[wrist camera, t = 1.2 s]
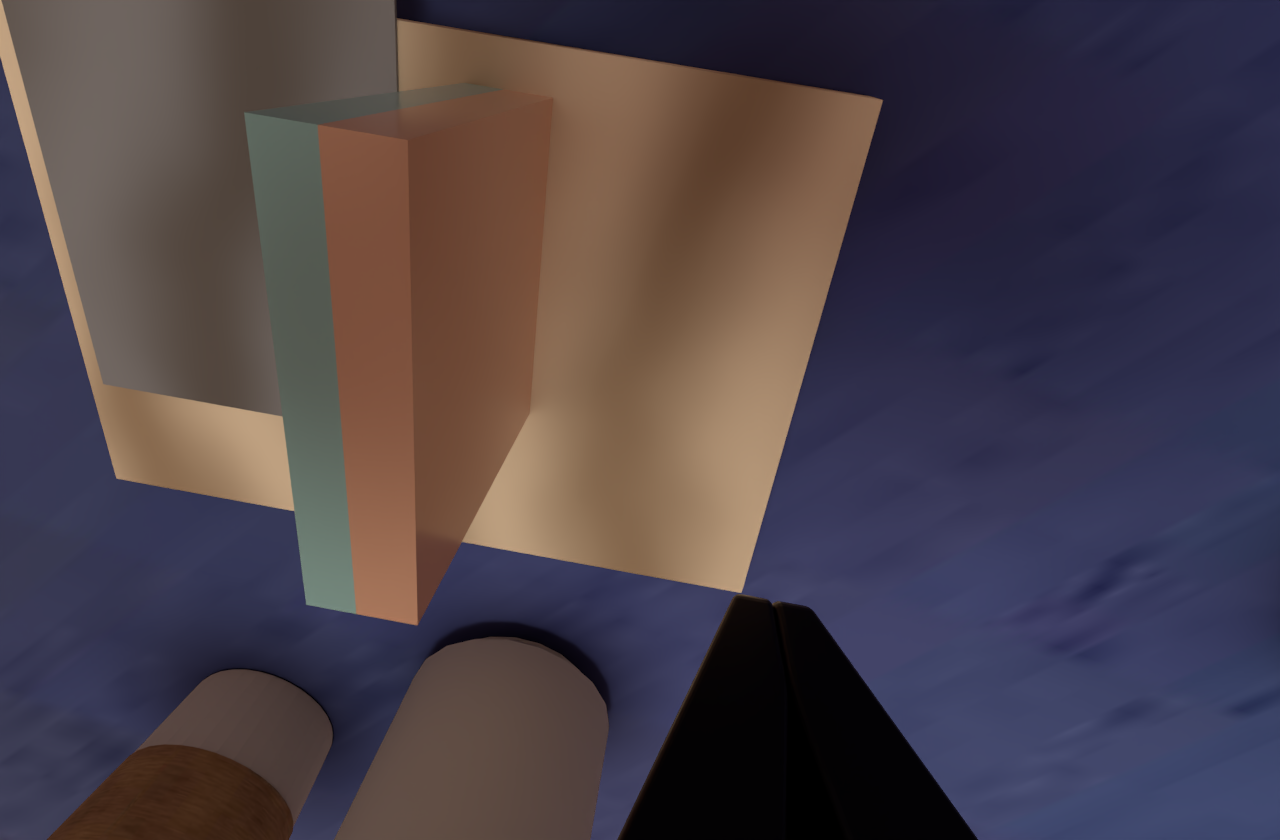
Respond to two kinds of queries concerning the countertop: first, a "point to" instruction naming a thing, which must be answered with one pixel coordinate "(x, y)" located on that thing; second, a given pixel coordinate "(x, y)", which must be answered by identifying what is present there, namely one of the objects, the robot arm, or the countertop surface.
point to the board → (569, 277)
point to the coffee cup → (215, 767)
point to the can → (487, 750)
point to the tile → (399, 322)
